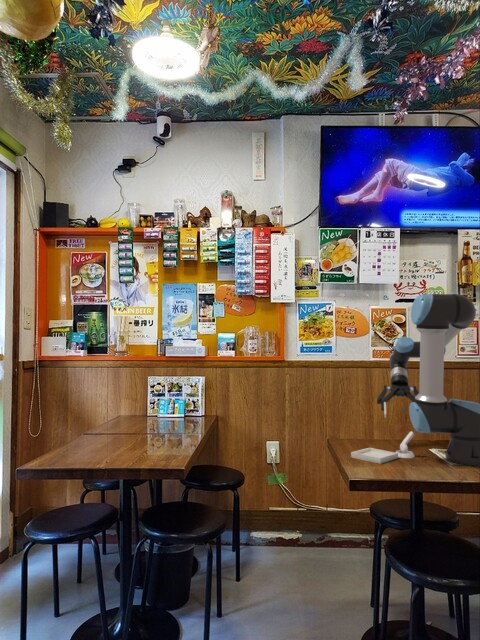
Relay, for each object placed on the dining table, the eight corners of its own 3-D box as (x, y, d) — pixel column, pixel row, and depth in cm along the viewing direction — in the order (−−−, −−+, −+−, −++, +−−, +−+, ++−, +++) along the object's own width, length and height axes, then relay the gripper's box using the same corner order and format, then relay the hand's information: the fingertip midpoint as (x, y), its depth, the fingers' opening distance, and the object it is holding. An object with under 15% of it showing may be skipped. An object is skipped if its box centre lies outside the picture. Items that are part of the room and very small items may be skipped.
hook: (429, 445, 175) (417, 435, 174) (411, 468, 175) (398, 459, 174) (419, 437, 182) (407, 428, 181) (402, 460, 183) (390, 451, 181)
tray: (398, 458, 174) (398, 453, 174) (380, 463, 166) (380, 458, 166) (369, 452, 184) (369, 447, 184) (351, 457, 175) (351, 452, 175)
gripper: (427, 385, 203) (432, 423, 188) (371, 383, 210) (371, 420, 195) (428, 374, 199) (433, 412, 183) (371, 373, 206) (371, 409, 190)
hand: (401, 416), depth 189 cm, fingers open, 13 cm apart
